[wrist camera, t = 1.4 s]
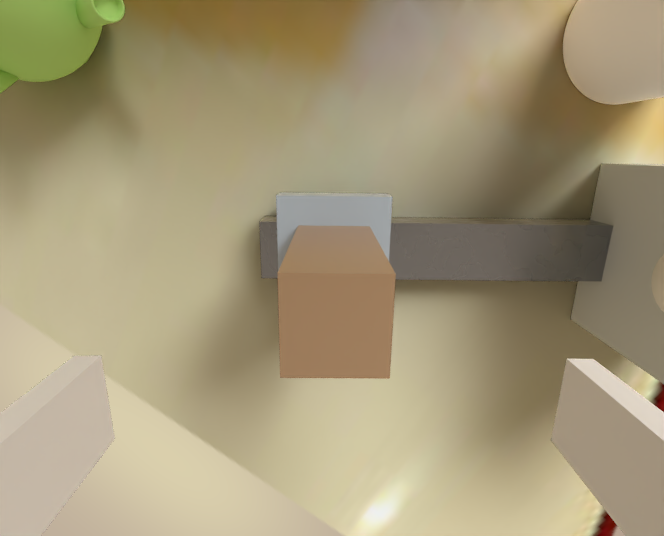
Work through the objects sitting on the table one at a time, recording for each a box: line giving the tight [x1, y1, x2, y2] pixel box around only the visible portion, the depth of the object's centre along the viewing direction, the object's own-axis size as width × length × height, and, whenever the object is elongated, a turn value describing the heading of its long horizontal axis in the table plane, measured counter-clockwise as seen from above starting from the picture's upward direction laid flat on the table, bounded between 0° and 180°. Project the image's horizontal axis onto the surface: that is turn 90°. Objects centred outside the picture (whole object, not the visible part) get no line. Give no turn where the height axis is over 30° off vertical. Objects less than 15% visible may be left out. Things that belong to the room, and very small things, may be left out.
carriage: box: [276, 192, 396, 378], centre depth 22 cm, size 8×7×14 cm
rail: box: [259, 216, 613, 281], centre depth 28 cm, size 4×24×2 cm, turn 90°
